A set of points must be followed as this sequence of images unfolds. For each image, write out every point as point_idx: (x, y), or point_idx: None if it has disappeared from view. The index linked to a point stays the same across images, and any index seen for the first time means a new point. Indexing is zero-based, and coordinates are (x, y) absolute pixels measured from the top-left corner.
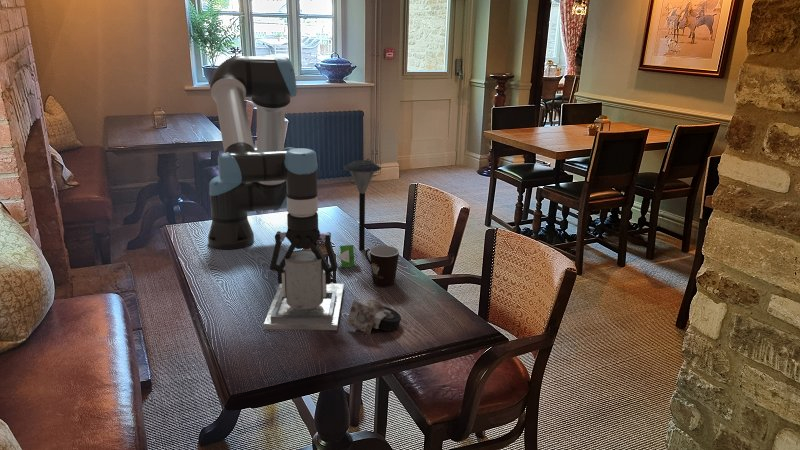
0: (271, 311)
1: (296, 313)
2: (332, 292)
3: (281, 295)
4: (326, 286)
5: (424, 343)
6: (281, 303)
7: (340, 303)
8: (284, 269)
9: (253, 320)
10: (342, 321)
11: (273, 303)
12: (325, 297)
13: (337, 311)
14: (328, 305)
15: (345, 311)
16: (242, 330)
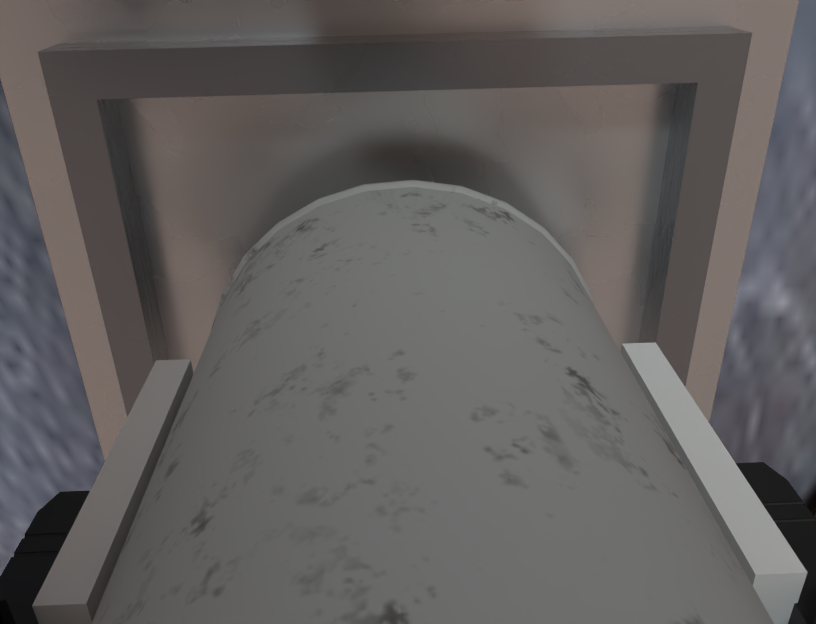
0: (117, 412)
1: None
2: (699, 72)
3: (101, 196)
4: (686, 396)
5: None
6: (150, 267)
7: (749, 229)
8: (54, 608)
9: (11, 441)
10: (716, 412)
11: (69, 270)
12: (597, 94)
13: (703, 377)
14: (626, 273)
15: (763, 256)
16: (6, 560)
